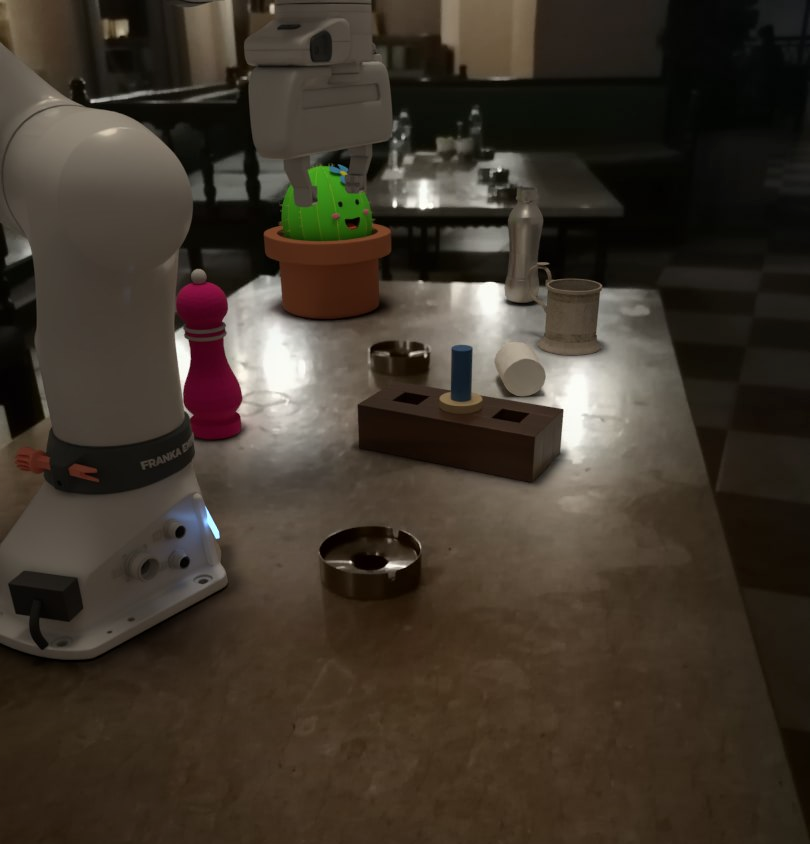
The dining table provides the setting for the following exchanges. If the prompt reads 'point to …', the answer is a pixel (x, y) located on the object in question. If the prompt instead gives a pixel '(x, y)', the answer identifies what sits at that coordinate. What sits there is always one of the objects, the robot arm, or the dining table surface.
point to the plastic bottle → (523, 246)
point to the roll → (519, 369)
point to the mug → (569, 314)
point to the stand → (461, 431)
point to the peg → (461, 384)
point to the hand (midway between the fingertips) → (332, 199)
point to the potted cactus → (328, 250)
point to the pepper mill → (208, 361)
